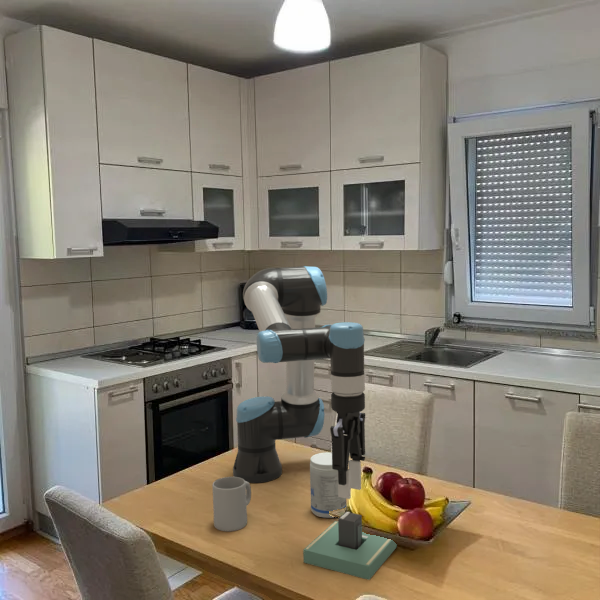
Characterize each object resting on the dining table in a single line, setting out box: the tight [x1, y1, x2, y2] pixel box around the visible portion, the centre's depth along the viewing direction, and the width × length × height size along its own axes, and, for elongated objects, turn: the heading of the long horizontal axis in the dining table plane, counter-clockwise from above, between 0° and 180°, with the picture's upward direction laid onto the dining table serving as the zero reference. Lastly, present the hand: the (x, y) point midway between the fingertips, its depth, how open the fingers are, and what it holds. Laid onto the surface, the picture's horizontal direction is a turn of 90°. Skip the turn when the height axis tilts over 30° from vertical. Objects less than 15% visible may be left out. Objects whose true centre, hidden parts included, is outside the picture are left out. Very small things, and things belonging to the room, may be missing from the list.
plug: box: [337, 511, 363, 550], centre depth 145 cm, size 4×4×9 cm
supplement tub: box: [309, 451, 347, 519], centre depth 167 cm, size 10×10×15 cm
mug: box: [211, 476, 252, 532], centre depth 163 cm, size 12×8×11 cm
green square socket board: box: [302, 520, 398, 581], centre depth 145 cm, size 16×16×3 cm
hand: (349, 492), depth 144 cm, fingers open, 5 cm apart
